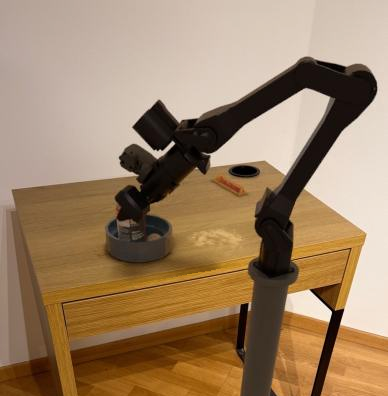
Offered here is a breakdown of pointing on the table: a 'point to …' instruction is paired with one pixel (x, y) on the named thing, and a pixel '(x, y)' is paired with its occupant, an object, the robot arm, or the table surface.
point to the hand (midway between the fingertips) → (125, 213)
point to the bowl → (141, 249)
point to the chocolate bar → (229, 185)
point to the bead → (153, 237)
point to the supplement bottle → (131, 228)
